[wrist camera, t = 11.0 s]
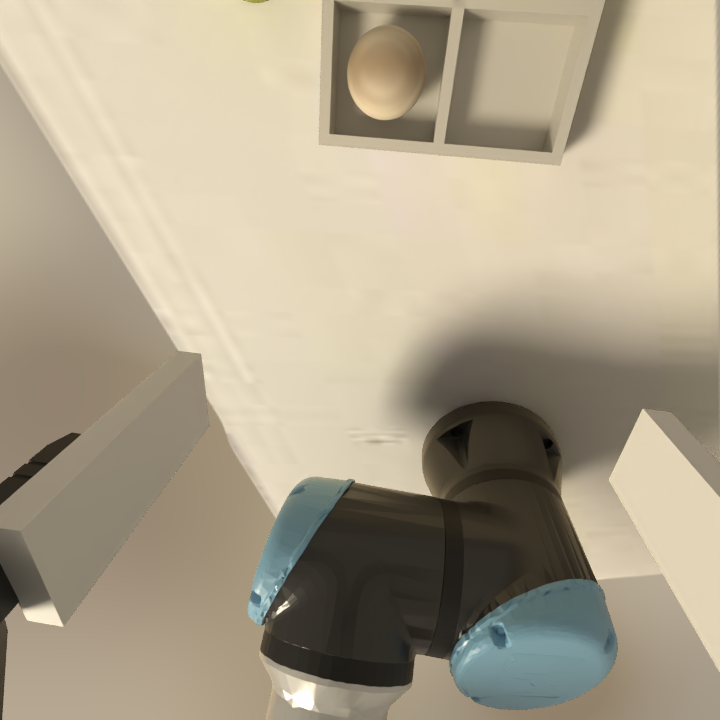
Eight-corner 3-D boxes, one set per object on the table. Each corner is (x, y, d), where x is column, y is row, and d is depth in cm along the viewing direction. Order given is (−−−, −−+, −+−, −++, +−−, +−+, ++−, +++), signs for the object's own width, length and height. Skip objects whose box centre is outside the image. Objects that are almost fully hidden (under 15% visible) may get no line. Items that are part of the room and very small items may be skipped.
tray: (546, 163, 34) (560, 165, 31) (327, 144, 35) (318, 144, 32) (632, -166, 26) (662, -208, 22) (337, -176, 27) (327, -217, 24)
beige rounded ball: (419, 124, 33) (420, 121, 28) (350, 119, 34) (339, 114, 29) (430, 37, 31) (433, 17, 26) (355, 32, 31) (344, 11, 26)
